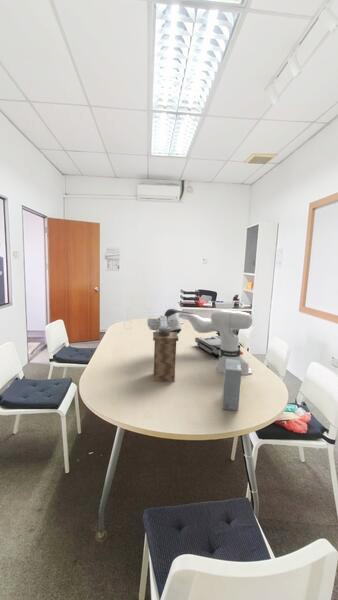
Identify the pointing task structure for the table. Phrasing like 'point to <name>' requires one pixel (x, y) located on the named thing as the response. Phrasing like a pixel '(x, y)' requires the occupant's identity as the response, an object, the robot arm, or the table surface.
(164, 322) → the link bar
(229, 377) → the hard drive box
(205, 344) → the game console
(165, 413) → the table surface
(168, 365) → the walnut stand
